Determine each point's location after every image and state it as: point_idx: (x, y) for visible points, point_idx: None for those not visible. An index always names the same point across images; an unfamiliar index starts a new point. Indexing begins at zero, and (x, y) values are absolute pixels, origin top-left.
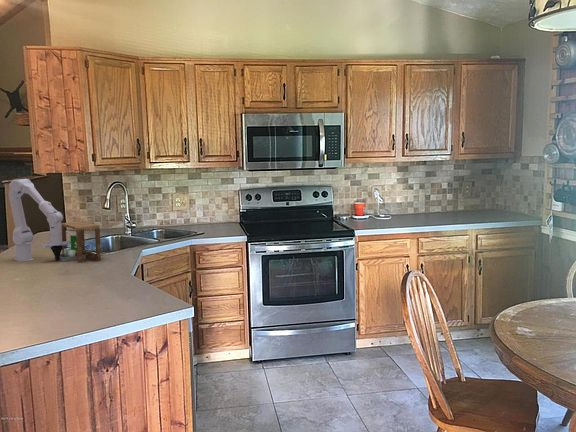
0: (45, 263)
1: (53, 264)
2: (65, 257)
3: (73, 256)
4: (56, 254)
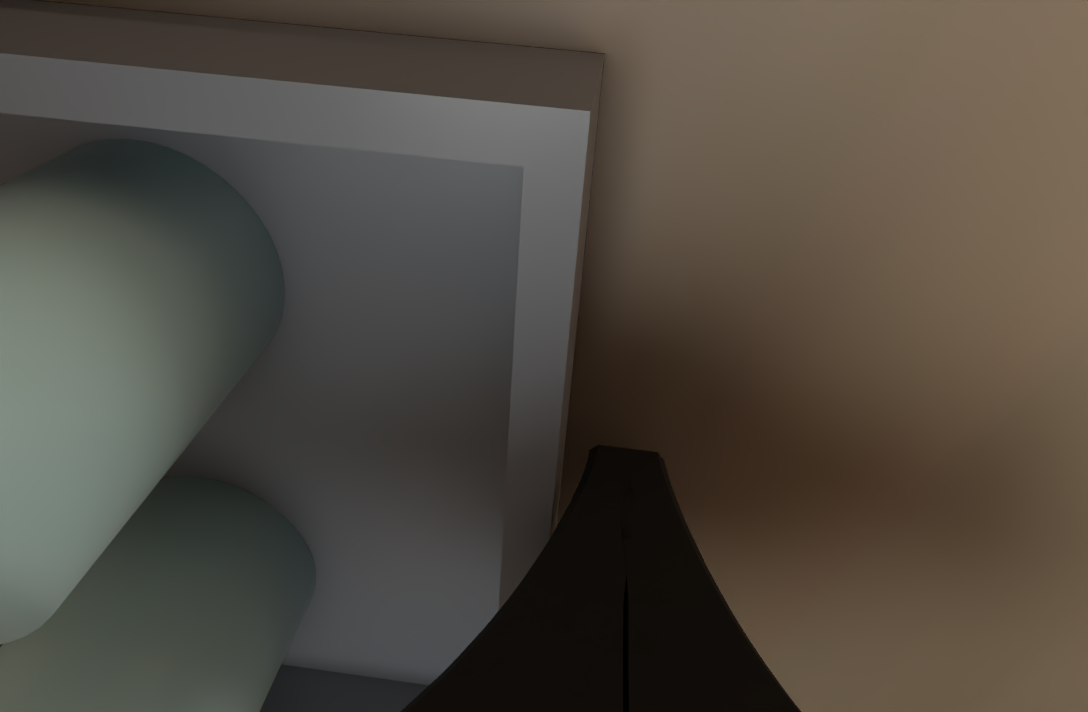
0: (1035, 492)
1: (1015, 132)
2: (287, 559)
3: (27, 189)
4: (705, 602)
